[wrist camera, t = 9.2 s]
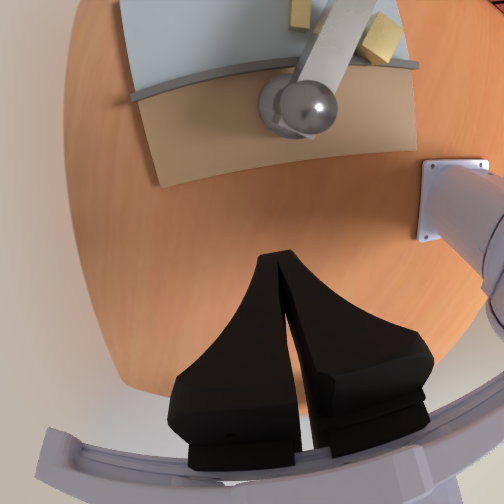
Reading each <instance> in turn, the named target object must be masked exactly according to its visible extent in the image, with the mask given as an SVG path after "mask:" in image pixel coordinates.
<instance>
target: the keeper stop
mask: <svg viewBox="0 0 504 504" xmlns="http://www.w3.org/2000/svg"><path fill="white" fill-rule="evenodd" d="M403 32H404V29H403V28H402V27H401V26H399V25H398V24H397V23H395V22H394V21H393V20H391V19H390V18H389V17H387V16H386V15H384V14H383V13H382V12H380V11H379V12H377V13H375V14H373V15H371V16H370V18H369V20H368V22H367V24H366V27H365V29H364V31H363V33H362V36H361V38H360V40H359V42H358V44H357V47H356V49H355V51H354V53H353V55H352V56H361V57H362V58H364V59H365V60H367V61H368V62H369V63H371V64H372V65H367V66H366V67H369V66H375V65H381V64H387V63H389V61H390V59H391V57H392V55H393V53H394V51H395V49H396V47H397V45H398V43H399V41H400V39H401V37H402V34H403Z"/></svg>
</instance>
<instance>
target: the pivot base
mask: <svg viewBox="0 0 504 504" xmlns="http://www.w3.org/2000/svg"><path fill="white" fill-rule="evenodd" d="M291 76H292V73H285V74H282V75H279V76H277V77H275V78H273V79H272V80H270V81H269V82H268V83H267V84H266V85H265V86H264V87H263V88H262V90H261V92H260V94H259V97H258V102H257V107H258V112H259V116H260V118H261V120H262V121H263V123H264V124H265V125H266V126H267V127H268V128H269V129H270V130H271V131H272V132H274V133H275V134H277V135H279V136H281V137H284V138H287V139H295V140H296V139H304V138H307V137H305V136H303V135H300V134H298V133H296V132H294V131H291V130H289V129H287V128H284V127H282V126H280V125H277V124H276V123H274V122H272V121H271V120H272V118H273V115H274V111H273V99H274V97H275V95H276V93H277V92H278V91H279V90H280V89H281V88H283V87H285V86H287V84H288V82H289V80H290V78H291Z"/></svg>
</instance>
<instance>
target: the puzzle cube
mask: <svg viewBox="0 0 504 504" xmlns="http://www.w3.org/2000/svg"><path fill="white" fill-rule="evenodd" d="M490 1H491V2H492V3H493V4H494V5H495V6H497V7H498V8H499V9H500V10H501V11H502V12H503V13H504V0H490Z"/></svg>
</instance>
